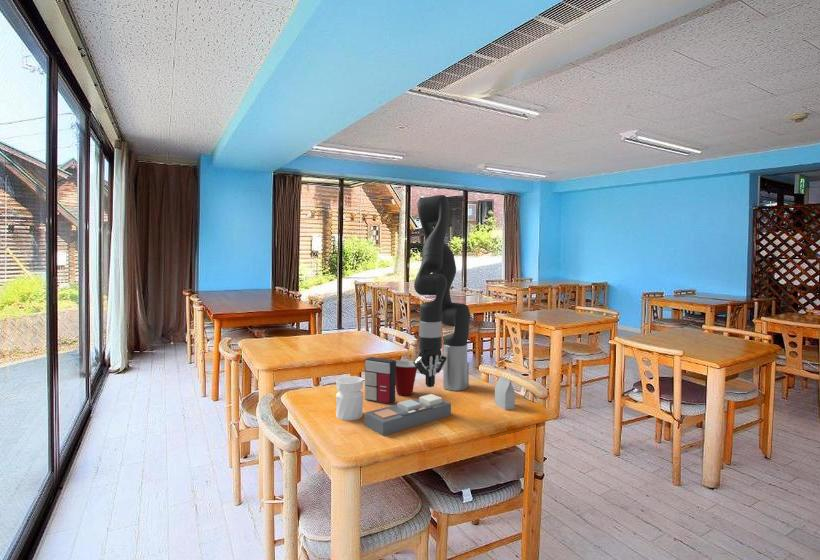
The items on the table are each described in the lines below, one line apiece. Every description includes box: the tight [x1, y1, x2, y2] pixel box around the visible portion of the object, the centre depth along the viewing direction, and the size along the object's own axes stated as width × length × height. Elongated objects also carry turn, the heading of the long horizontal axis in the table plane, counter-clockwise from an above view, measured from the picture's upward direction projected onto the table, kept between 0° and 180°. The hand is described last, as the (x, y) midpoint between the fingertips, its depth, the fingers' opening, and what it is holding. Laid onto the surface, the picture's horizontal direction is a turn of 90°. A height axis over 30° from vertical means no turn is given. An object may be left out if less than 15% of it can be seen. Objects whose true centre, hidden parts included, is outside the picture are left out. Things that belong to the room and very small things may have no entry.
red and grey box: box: [364, 356, 397, 405], centre depth 168 cm, size 11×4×15 cm, turn 62°
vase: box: [335, 375, 364, 422], centre depth 153 cm, size 9×9×12 cm
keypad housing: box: [364, 398, 452, 436], centre depth 150 cm, size 27×10×4 cm, turn 128°
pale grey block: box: [494, 375, 516, 411], centre depth 162 cm, size 4×7×10 cm, turn 21°
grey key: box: [396, 399, 421, 412], centre depth 149 cm, size 5×5×3 cm
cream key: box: [418, 393, 443, 406], centre depth 155 cm, size 5×5×3 cm
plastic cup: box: [395, 360, 418, 397], centre depth 176 cm, size 11×11×12 cm
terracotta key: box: [374, 409, 398, 419], centre depth 144 cm, size 5×5×3 cm
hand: (430, 386), depth 155 cm, fingers closed
